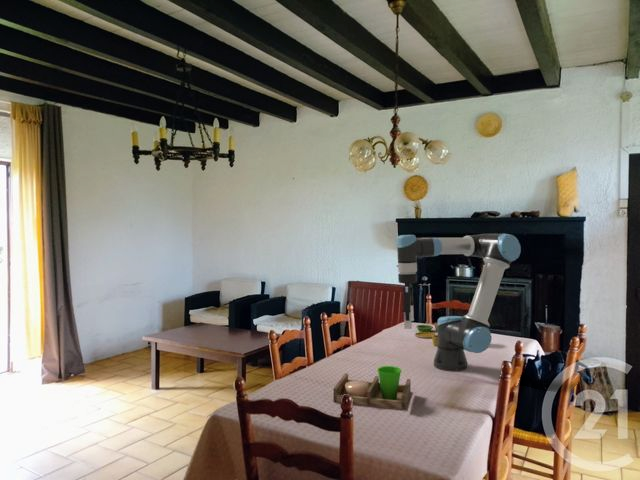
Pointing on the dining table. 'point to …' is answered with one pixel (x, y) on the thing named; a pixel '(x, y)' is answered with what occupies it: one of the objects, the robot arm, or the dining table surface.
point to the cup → (389, 381)
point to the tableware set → (427, 333)
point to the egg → (356, 388)
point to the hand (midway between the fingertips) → (409, 324)
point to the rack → (374, 394)
